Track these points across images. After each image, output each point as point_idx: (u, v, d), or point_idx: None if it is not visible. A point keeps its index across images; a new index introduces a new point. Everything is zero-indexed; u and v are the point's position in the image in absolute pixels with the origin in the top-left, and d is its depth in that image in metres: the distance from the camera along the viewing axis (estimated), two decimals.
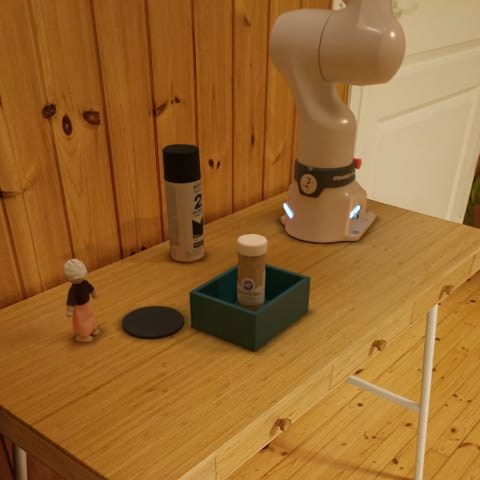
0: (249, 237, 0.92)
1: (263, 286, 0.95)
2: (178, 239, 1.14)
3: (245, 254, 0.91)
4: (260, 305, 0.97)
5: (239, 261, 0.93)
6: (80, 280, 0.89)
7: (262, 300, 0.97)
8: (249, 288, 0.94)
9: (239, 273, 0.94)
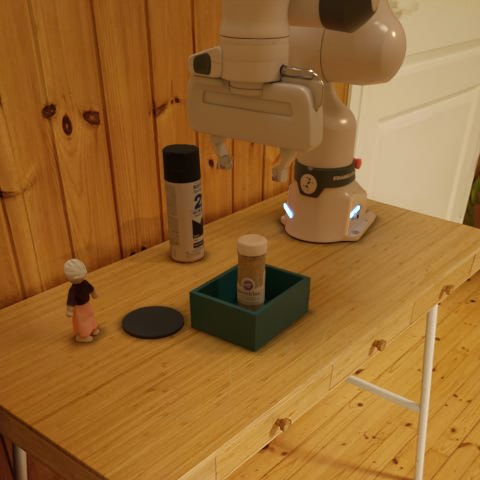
0: (249, 237, 0.92)
1: (263, 286, 0.95)
2: (178, 239, 1.14)
3: (245, 254, 0.91)
4: (260, 305, 0.97)
5: (239, 261, 0.93)
6: (80, 280, 0.89)
7: (262, 300, 0.97)
8: (249, 288, 0.94)
9: (239, 273, 0.94)
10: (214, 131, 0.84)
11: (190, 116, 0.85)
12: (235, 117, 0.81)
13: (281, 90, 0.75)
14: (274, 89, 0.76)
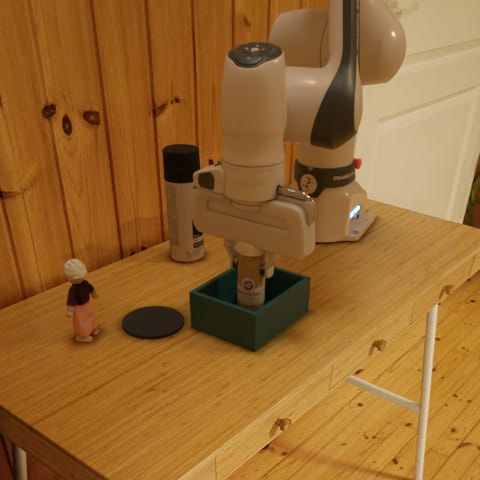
0: None
1: (263, 286, 0.95)
2: (178, 239, 1.14)
3: (245, 254, 0.91)
4: (260, 305, 0.97)
5: (239, 261, 0.93)
6: (80, 280, 0.89)
7: (262, 300, 0.97)
8: (249, 288, 0.94)
9: (239, 273, 0.94)
10: (217, 234, 0.93)
11: (195, 219, 0.93)
12: (236, 225, 0.90)
13: (277, 208, 0.84)
14: (271, 206, 0.84)
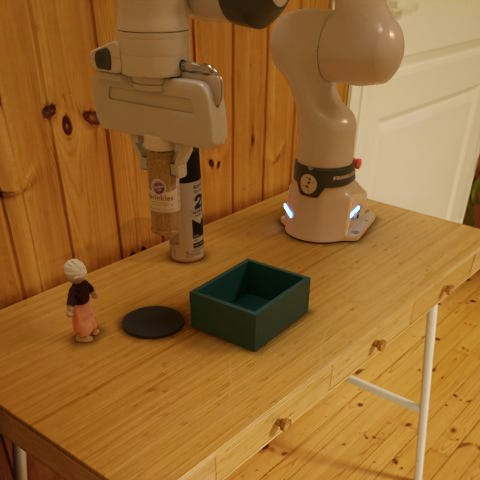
0: None
1: (177, 190, 0.85)
2: (178, 239, 1.14)
3: (152, 149, 0.80)
4: (175, 213, 0.86)
5: (147, 159, 0.82)
6: (80, 280, 0.89)
7: (177, 208, 0.86)
8: (160, 191, 0.83)
9: (149, 174, 0.83)
10: (122, 128, 0.82)
11: (99, 113, 0.83)
12: (140, 114, 0.79)
13: (180, 86, 0.73)
14: (174, 85, 0.74)
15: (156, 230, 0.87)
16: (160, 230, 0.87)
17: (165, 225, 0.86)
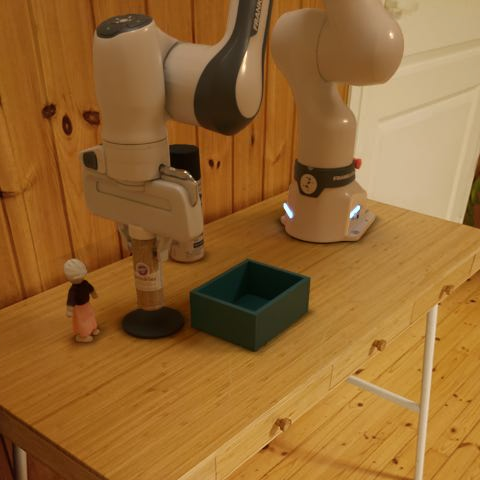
0: None
1: (159, 271, 0.92)
2: None
3: (136, 237, 0.88)
4: (158, 291, 0.94)
5: (132, 245, 0.90)
6: (80, 280, 0.89)
7: (160, 286, 0.93)
8: (144, 273, 0.91)
9: (133, 257, 0.91)
10: (109, 217, 0.89)
11: (87, 202, 0.90)
12: (125, 207, 0.86)
13: (160, 188, 0.81)
14: (154, 186, 0.81)
15: (141, 305, 0.95)
16: (145, 306, 0.95)
17: (149, 302, 0.94)
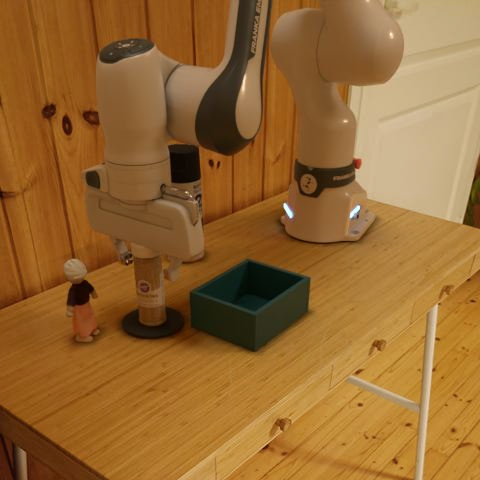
0: None
1: (161, 288, 0.94)
2: None
3: (138, 256, 0.89)
4: (160, 307, 0.95)
5: (134, 263, 0.91)
6: (80, 280, 0.89)
7: (161, 302, 0.95)
8: (146, 290, 0.93)
9: (135, 275, 0.93)
10: (111, 234, 0.91)
11: (90, 219, 0.92)
12: (127, 225, 0.88)
13: (161, 207, 0.82)
14: (155, 206, 0.83)
15: (143, 321, 0.97)
16: (146, 321, 0.96)
17: (151, 318, 0.96)
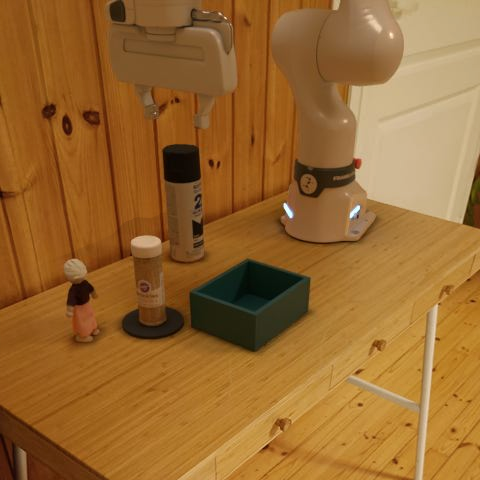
0: (143, 238, 0.91)
1: (161, 288, 0.94)
2: (178, 239, 1.14)
3: (138, 256, 0.89)
4: (160, 307, 0.95)
5: (134, 263, 0.91)
6: (80, 280, 0.89)
7: (161, 302, 0.95)
8: (146, 290, 0.93)
9: (135, 275, 0.93)
10: (136, 80, 0.86)
11: (114, 66, 0.86)
12: (154, 65, 0.82)
13: (192, 34, 0.77)
14: (186, 33, 0.77)
15: (143, 321, 0.97)
16: (146, 321, 0.96)
17: (151, 318, 0.96)
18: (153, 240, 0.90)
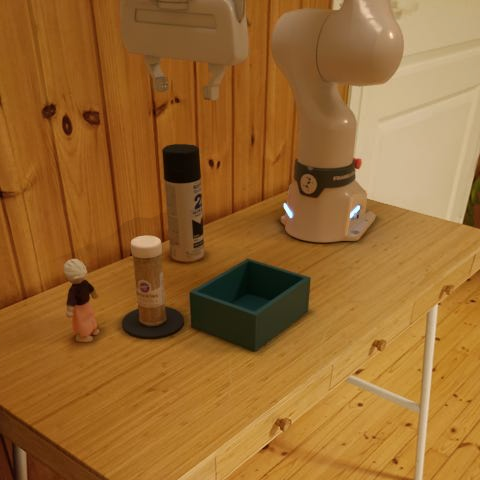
0: (143, 238, 0.91)
1: (161, 288, 0.94)
2: (178, 239, 1.14)
3: (138, 256, 0.89)
4: (160, 307, 0.95)
5: (134, 263, 0.91)
6: (80, 280, 0.89)
7: (161, 302, 0.95)
8: (146, 290, 0.93)
9: (135, 275, 0.93)
10: (147, 51, 0.86)
11: (124, 37, 0.86)
12: (165, 34, 0.83)
13: (205, 2, 0.77)
14: (198, 1, 0.77)
15: (143, 321, 0.97)
16: (146, 321, 0.96)
17: (151, 318, 0.96)
18: (153, 240, 0.90)
